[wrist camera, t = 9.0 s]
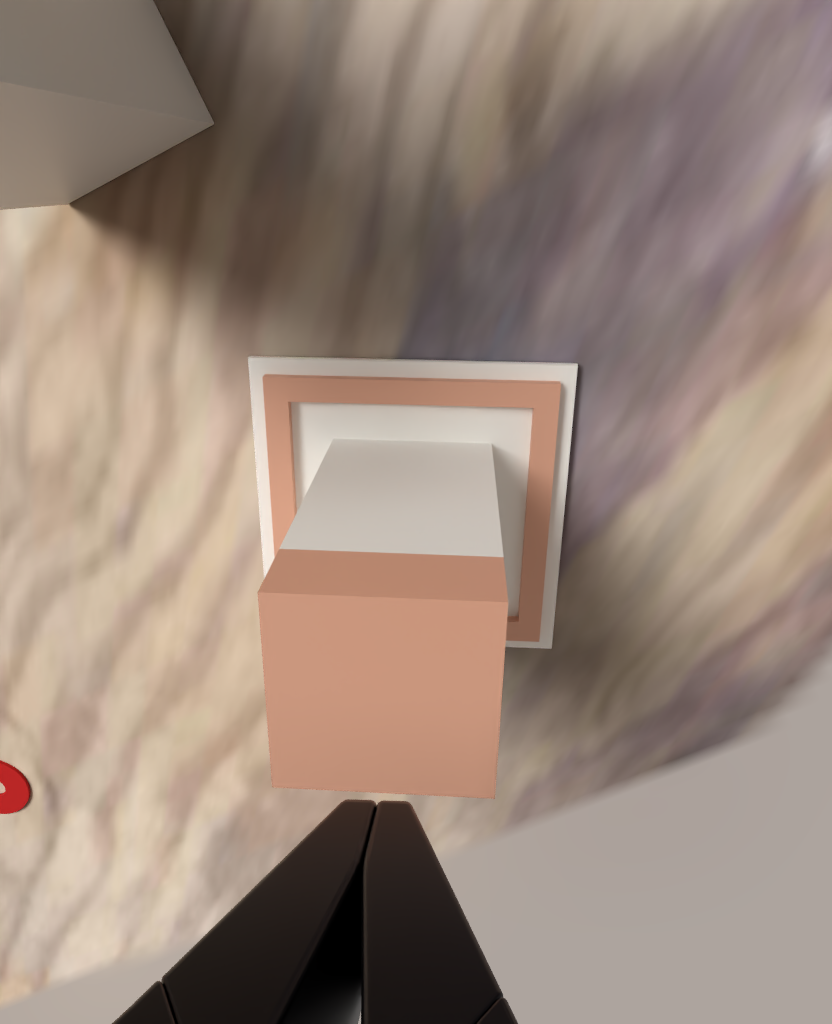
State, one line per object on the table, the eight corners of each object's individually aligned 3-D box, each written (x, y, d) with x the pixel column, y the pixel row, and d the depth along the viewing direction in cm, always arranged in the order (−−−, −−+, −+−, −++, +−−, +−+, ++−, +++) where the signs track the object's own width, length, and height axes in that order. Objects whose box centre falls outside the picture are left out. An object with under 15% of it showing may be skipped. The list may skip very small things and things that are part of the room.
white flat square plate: (576, 363, 19) (579, 368, 19) (550, 644, 22) (552, 654, 22) (250, 355, 19) (245, 360, 19) (270, 634, 23) (266, 643, 22)
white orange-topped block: (491, 443, 20) (508, 602, 12) (483, 583, 21) (494, 798, 14) (333, 438, 20) (257, 592, 13) (337, 578, 22) (272, 787, 14)
